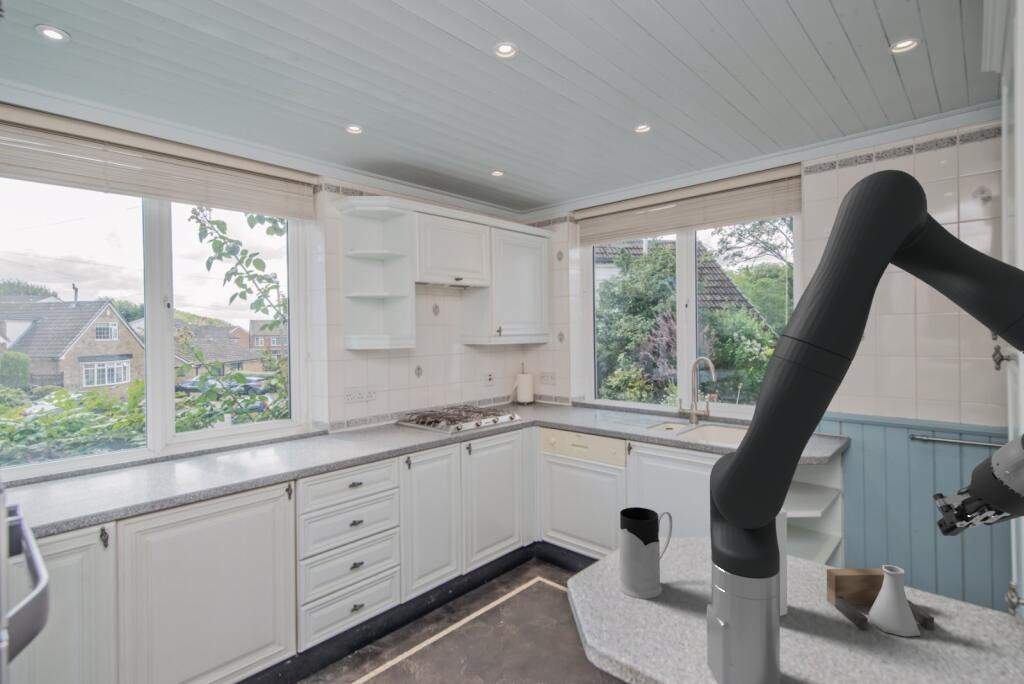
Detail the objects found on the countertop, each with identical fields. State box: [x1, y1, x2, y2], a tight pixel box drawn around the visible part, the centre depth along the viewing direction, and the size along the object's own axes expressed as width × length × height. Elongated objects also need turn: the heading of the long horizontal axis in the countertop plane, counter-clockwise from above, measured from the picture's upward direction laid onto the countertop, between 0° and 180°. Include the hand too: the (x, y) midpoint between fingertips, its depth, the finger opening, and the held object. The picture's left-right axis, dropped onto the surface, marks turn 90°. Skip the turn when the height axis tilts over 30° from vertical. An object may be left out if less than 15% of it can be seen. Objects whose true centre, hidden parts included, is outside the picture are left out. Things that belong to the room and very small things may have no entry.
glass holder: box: [617, 506, 673, 600], centre depth 103 cm, size 9×14×15 cm, turn 123°
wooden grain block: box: [826, 567, 935, 631], centre depth 91 cm, size 12×10×6 cm
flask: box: [868, 564, 921, 637], centre depth 87 cm, size 7×7×10 cm
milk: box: [776, 506, 788, 617], centre depth 93 cm, size 6×6×22 cm
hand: (944, 529), depth 76 cm, fingers closed
